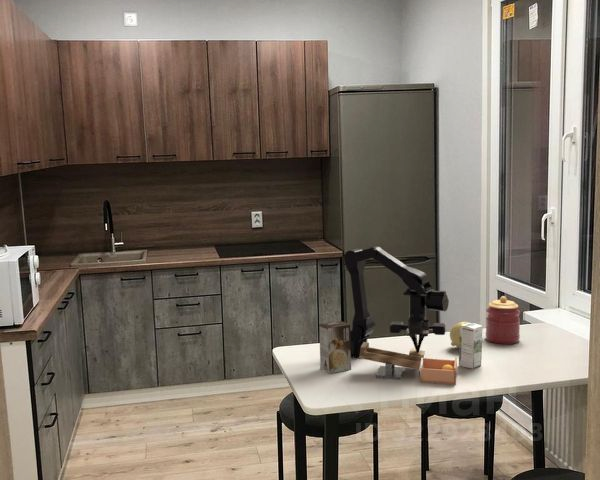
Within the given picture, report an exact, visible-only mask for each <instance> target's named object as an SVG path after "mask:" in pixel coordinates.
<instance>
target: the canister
mask: <svg viewBox="0 0 600 480" xmlns="http://www.w3.org/2000/svg"><path fill="white" fill-rule="evenodd" d="M518 308H519V305H518V304H517V303H516V302H515V301H512V300H509V299H507V296H504V295H502V296H501V297H500V298H499V299H495V300H492V301H490V302H489V303H488V308H486V309H485V312H486V315H487V316H486V317H485V321H486V322H485V339H486V340H487V341H488V342H491V343H494V344H499V345H500V344H501V345H511V344H517V343H519V341H520V338H521V334H520V325H521V323H520V322H521V318H520V314H521V310H520V309H518Z"/></svg>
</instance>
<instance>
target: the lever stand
mask: <svg viewBox="0 0 600 480" xmlns="http://www.w3.org/2000/svg"><path fill="white" fill-rule="evenodd" d="M404 368H405V367H401V366H396V365H392V363H384V365H379V368H378V370H377V372H376V375H375V379H380V380H381V379H382V380H383V379H385V380H395V381H401V379H402V376H403V374H404Z"/></svg>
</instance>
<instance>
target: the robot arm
mask: <svg viewBox="0 0 600 480" xmlns="http://www.w3.org/2000/svg"><path fill="white" fill-rule="evenodd" d="M370 259H373V260H374V261H376V262H377V263H379V264H381V265H382V266H383V267H384V268H386V269H387V270H389V271H390V272H392V273H393V274H395V275H396V276H397V277H399V278H400V280H401V281H402V283H403V284H404V285H405V286H407V289H406V290H405V291H404V292H403V293H402V295H404V296H408V298H409V299H408V312H409V313H408V320H407V323H408V324H404V321H397V320H396V321H395V320H394V321H392V322H391V324H390V325H389V333H392V334H399V333H400V332H401V331H406V336H407V337H410V339H411V341H412V343H413V345H414V349H416V352H419V350H420V349H421V346H422V343H423V341H424V339H425V337H429V332H432V333H433V334H434V335H436V336H445V334H446V324H445V323H443V322H433V324H432V325H430V320H429V319H427V309H428V310H429V311H437V312H438V311H439V312H447V310H448V309H449V304H450V303H449V297H448V295H447V291H446V290H435V288H434V286H433V284H431V283H430V281H429V278H428V275H427V274H426V272H424V271H422V270H419V269H418V268H414V267H410V266H408V265H406V264H405V263H403V262H402V261H400V260H399V259H397V258H396V257H394V256H393V255H391V254H390V253H388V252H387V251H385V250H384V249H382V247H380V246H377V245H376V246H371V247H369V248H366V249H362V248H358V247H357V248H354V249H350V250H347V251H345V253H344V254H343V262H344V266H345V268H346V270H347V272H348V273H349V276H350V277H349V278H350V284H351V293H352V300H353V309H354V314H353V319H352V320H351V321H352V322H351V323H352V324H351V327H352V328H351V329H350V334H351V358H357V359H360V358H359V356H360V348H361V345H362V344H363V342H367V343H368V346H367V347H370V343H369V342H368V338H370V336H371V334H372V333H374V329H375V327H376V323H375V316H374V315H373V314H372V315H371V314H370V313H369V310H368V301H367V295H366V288H365V287H366V285H365V278H364V271H365V268H366V265H367V264H366V263H367V260H370Z"/></svg>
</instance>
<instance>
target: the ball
mask: <svg viewBox="0 0 600 480" xmlns="http://www.w3.org/2000/svg"><path fill="white" fill-rule="evenodd" d="M442 370H454V368H453V367H452V366H451V365H448V364H447V365H444V366H443V367H442Z"/></svg>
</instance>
